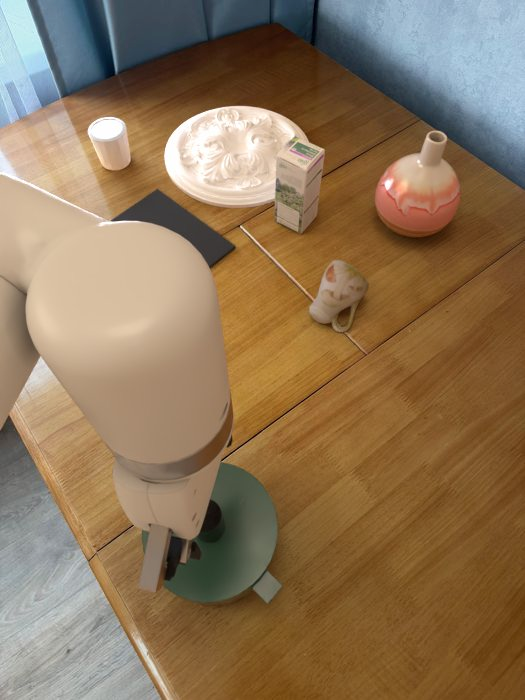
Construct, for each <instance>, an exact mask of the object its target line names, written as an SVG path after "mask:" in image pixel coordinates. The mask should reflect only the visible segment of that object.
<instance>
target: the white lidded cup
mask: <svg viewBox="0 0 525 700" xmlns="http://www.w3.org/2000/svg"><path fill="white" fill-rule="evenodd" d="M87 134H88V136H89V137H88V138H89V139H90V141H91V143H92V146H93V148H94V150H95V152H96V155H97V157H98V160H99V162H100V164H101V166H102V167H103V168H104V169H106V170H107V171H120V170H123V169H125V168H127V167H128V166H129V165H130V163H131V160H132V159H131V150H130V144H129V136H128V130H127V124H126V123H125V122H124V121H123V120H122V119H121V118H118V117H114V116H113V117H112V116H108V117H107V116H105V117H101V118H98V119H96V120H94V121H93V122H91V123H90V125H89V126H88V129H87Z"/></svg>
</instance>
